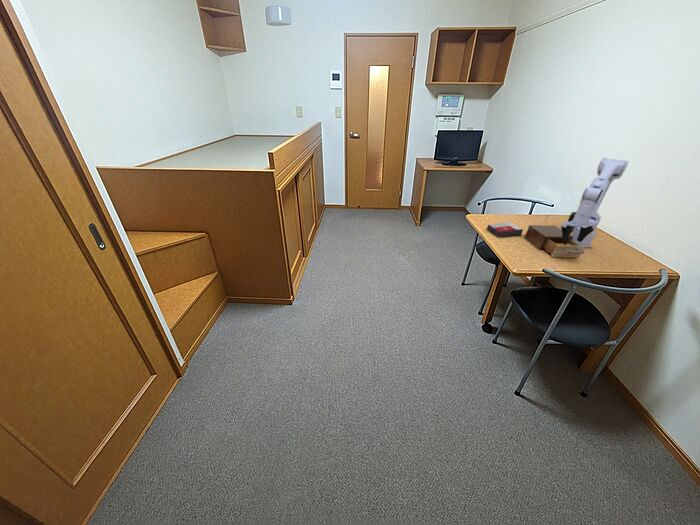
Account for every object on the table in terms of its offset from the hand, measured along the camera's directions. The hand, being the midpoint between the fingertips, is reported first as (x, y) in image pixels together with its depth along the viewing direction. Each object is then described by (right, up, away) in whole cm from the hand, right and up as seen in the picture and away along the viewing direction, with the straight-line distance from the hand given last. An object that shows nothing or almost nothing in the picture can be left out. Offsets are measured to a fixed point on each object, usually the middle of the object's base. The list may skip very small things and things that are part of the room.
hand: (571, 241), depth 139 cm
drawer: (0, -5, +7) cm, 9 cm away
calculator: (-17, +7, +29) cm, 34 cm away
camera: (+31, +9, +35) cm, 48 cm away
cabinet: (-1, 0, +18) cm, 18 cm away
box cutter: (0, -4, +7) cm, 8 cm away
